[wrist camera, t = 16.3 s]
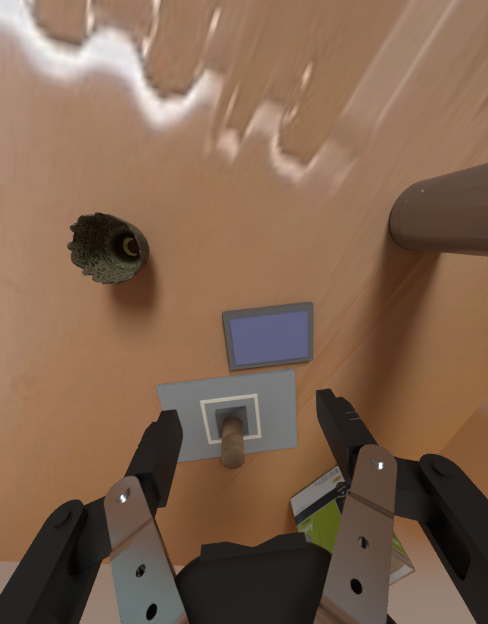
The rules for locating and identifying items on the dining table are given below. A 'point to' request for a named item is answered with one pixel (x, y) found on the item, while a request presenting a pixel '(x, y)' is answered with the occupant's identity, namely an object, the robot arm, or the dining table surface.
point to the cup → (107, 248)
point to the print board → (226, 394)
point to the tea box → (336, 519)
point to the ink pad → (269, 335)
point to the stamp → (232, 435)
